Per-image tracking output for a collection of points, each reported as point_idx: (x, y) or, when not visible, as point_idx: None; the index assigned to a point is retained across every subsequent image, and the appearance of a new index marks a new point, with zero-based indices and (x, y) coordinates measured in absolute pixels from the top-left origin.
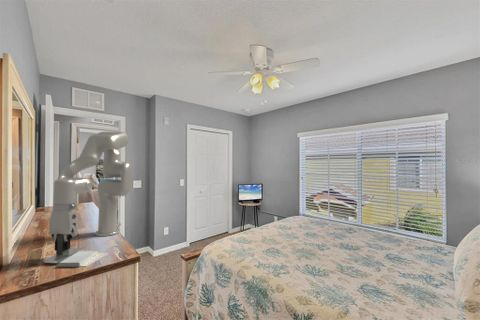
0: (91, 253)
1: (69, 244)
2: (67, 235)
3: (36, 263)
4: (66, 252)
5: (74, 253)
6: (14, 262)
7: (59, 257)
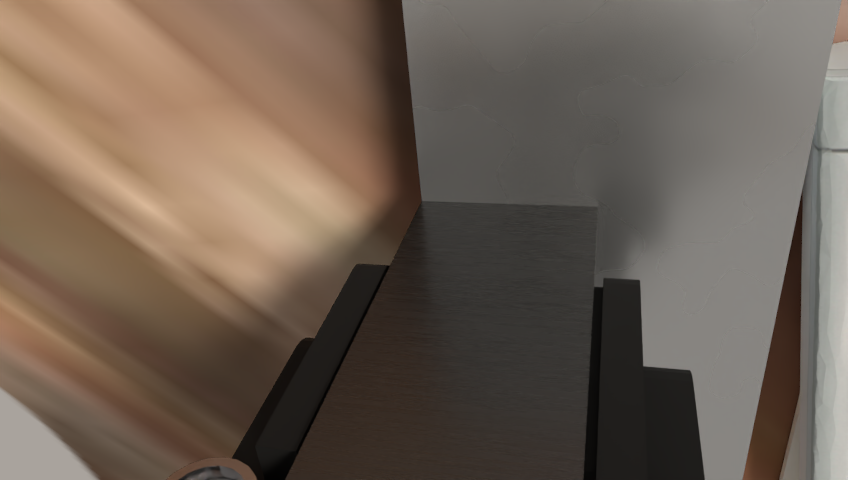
0: None
1: (698, 453)
2: None
3: None
4: (596, 279)
5: (792, 223)
6: (40, 407)
7: None
